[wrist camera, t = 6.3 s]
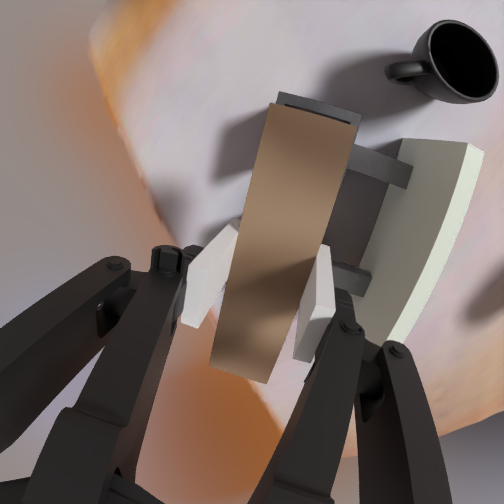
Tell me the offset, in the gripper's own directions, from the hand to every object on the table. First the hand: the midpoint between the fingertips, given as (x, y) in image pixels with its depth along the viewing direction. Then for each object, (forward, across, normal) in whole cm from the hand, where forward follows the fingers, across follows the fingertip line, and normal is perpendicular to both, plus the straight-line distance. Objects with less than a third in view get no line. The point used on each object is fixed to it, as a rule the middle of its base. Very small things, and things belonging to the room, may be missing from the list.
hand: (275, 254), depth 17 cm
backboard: (+19, +11, 0) cm, 22 cm away
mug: (+19, +10, +18) cm, 28 cm away
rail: (+3, 0, 0) cm, 3 cm away
